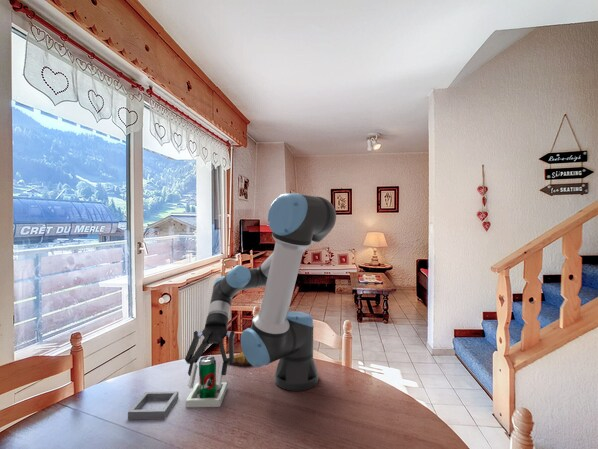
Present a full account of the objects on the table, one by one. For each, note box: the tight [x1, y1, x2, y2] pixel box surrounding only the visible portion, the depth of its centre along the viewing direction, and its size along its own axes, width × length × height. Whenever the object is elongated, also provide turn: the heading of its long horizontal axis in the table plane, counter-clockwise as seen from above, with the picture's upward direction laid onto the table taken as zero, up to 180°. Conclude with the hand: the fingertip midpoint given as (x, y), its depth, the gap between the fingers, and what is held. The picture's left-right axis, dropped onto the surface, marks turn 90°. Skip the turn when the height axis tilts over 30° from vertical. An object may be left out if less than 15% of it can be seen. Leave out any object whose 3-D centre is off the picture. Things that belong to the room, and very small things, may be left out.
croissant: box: [228, 351, 252, 366], centre depth 115 cm, size 14×7×5 cm, turn 92°
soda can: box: [198, 355, 217, 398], centre depth 91 cm, size 5×5×12 cm
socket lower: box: [185, 381, 228, 408], centre depth 91 cm, size 10×10×2 cm
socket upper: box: [127, 391, 179, 420], centre depth 85 cm, size 10×10×2 cm
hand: (204, 386), depth 87 cm, fingers open, 8 cm apart
